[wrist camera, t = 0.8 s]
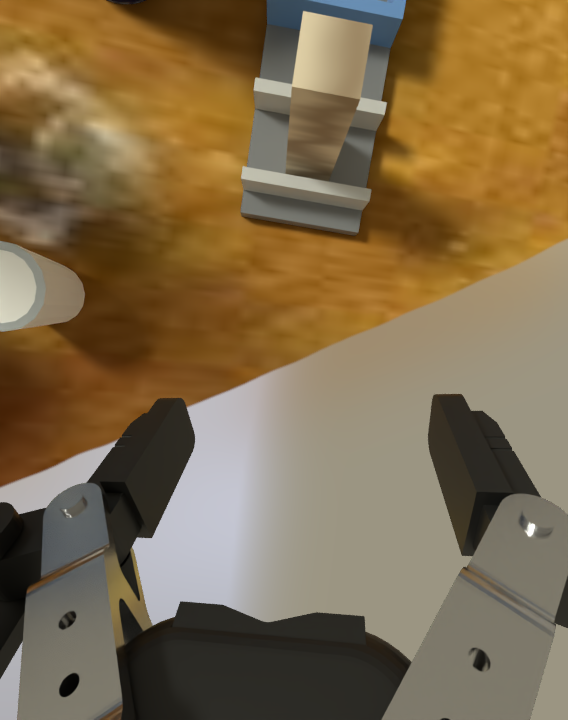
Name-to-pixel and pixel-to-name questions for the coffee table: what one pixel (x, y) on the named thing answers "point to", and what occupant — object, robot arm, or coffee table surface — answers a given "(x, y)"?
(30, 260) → the beige cylinder
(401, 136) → the coffee table surface
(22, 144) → the coffee table surface
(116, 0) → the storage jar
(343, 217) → the grey slotted base
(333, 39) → the peg
